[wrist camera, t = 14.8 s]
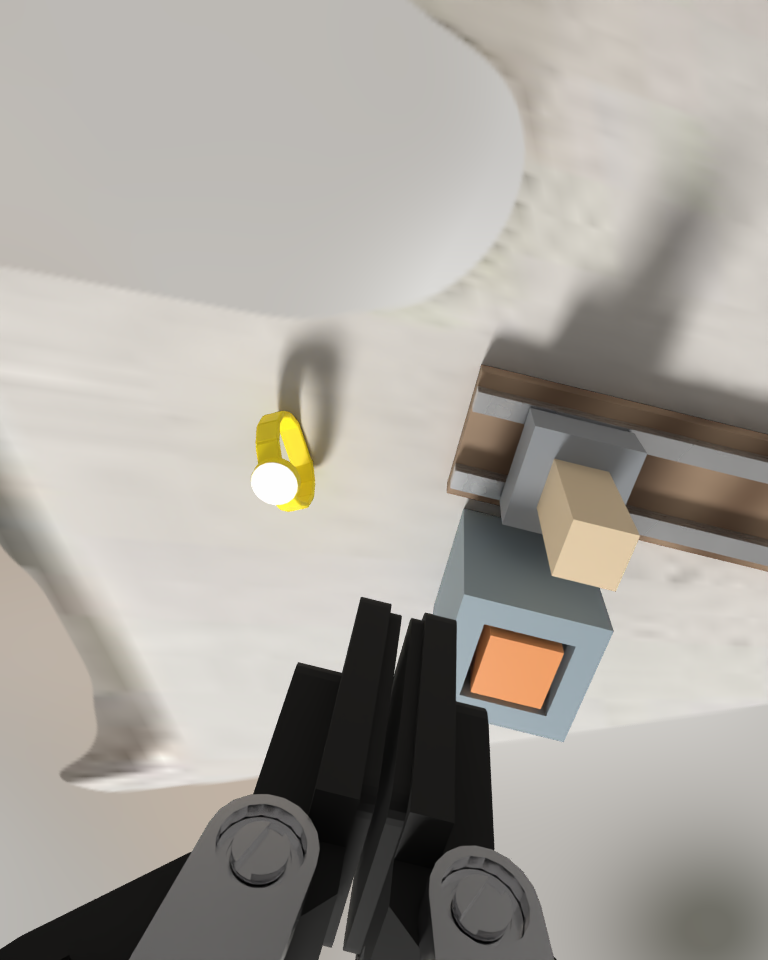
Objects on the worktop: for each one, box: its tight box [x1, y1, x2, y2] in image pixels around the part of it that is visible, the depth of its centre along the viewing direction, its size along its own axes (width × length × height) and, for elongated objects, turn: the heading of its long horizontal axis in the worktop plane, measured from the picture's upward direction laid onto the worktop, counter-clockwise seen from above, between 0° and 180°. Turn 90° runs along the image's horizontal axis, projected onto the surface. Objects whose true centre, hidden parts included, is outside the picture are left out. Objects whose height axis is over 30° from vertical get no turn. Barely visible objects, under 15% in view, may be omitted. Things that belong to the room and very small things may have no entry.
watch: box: [251, 411, 315, 512], centre depth 42 cm, size 6×3×6 cm, turn 15°
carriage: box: [500, 408, 647, 592], centre depth 35 cm, size 6×6×10 cm
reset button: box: [470, 624, 564, 709], centre depth 39 cm, size 4×4×3 cm
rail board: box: [447, 364, 768, 572], centre depth 41 cm, size 23×8×3 cm, turn 78°
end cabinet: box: [433, 509, 614, 742], centre depth 42 cm, size 8×8×10 cm
